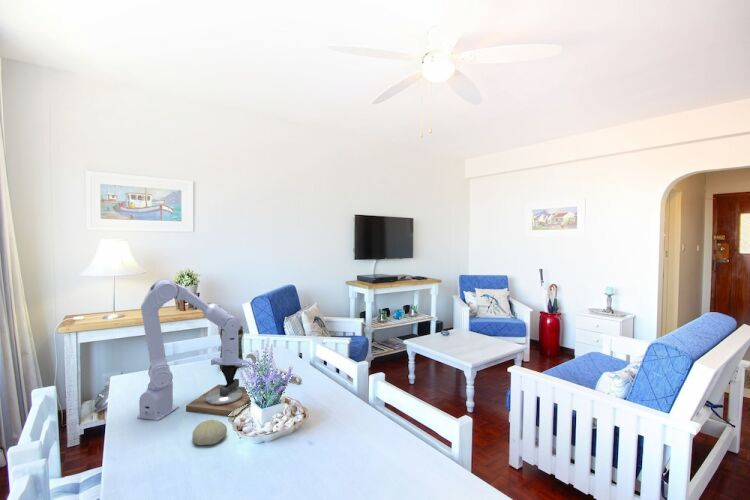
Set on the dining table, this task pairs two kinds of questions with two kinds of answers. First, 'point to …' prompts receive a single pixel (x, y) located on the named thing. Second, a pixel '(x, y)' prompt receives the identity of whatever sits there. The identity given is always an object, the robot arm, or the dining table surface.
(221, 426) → the sea urchin shell
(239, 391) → the dial
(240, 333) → the coffee jar
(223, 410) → the dial base
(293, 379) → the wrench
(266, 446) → the dining table surface
